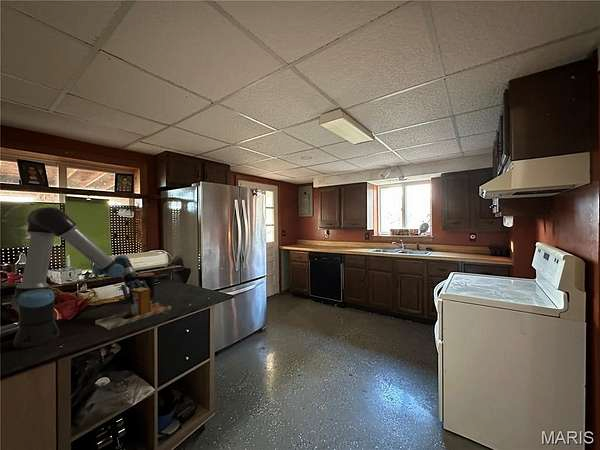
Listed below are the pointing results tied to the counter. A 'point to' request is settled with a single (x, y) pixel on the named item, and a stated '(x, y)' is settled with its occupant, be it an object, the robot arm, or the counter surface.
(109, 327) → the channel
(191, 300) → the counter surface
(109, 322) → the pad
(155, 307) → the trap pad
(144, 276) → the coffee jar
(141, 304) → the baking soda box
